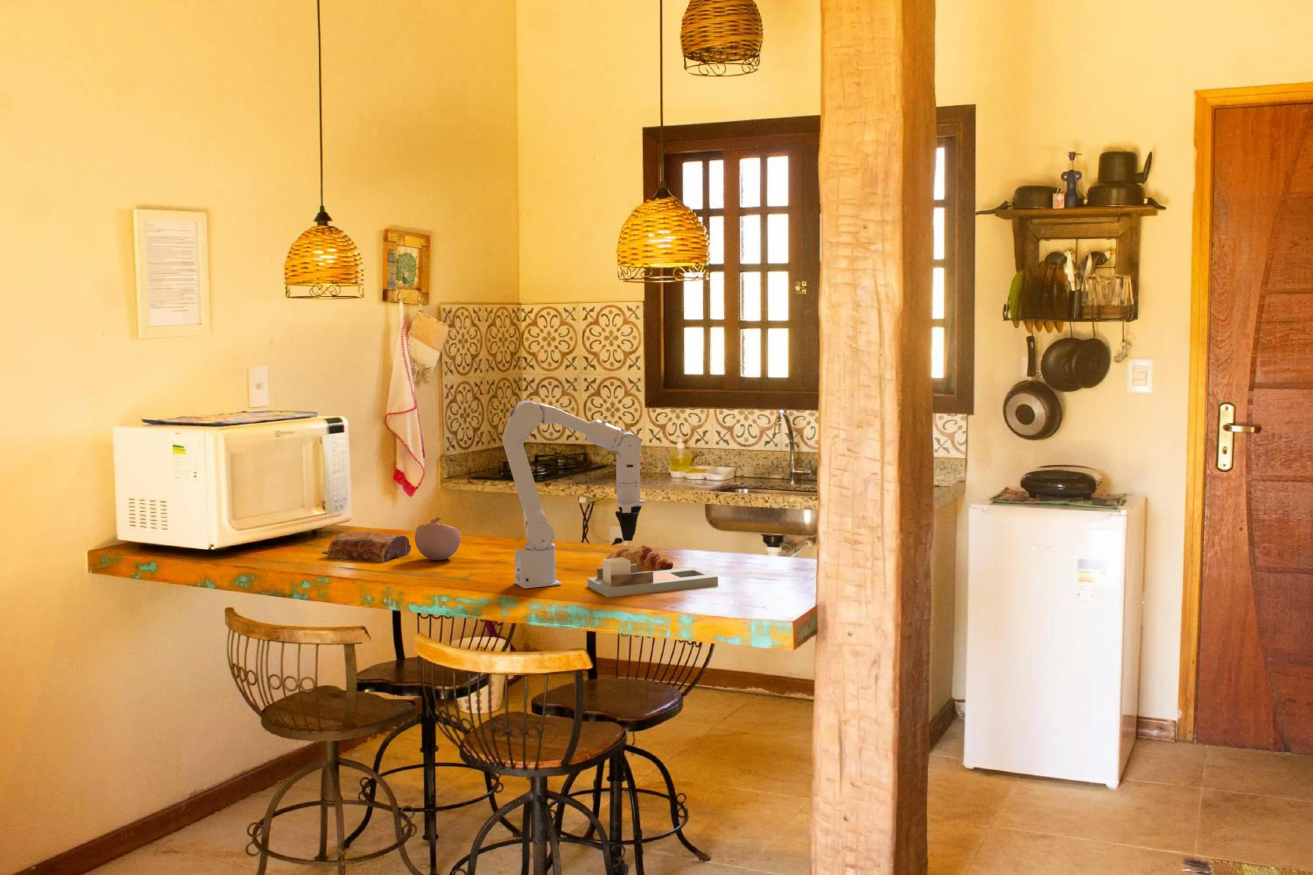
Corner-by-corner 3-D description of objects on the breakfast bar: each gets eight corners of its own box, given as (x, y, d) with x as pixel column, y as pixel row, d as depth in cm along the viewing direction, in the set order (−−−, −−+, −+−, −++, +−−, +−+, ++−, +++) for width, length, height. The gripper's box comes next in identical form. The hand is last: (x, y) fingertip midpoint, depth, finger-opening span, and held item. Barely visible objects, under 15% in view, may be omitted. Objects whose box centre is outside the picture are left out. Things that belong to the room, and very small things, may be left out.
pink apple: (466, 555, 345) (464, 513, 343) (455, 564, 333) (453, 520, 332) (422, 555, 346) (421, 513, 345) (410, 564, 334) (408, 521, 333)
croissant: (599, 581, 325) (588, 556, 321) (619, 557, 331) (609, 532, 328) (667, 589, 312) (657, 563, 309) (687, 563, 319) (677, 538, 315)
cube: (610, 584, 295) (610, 562, 295) (603, 580, 300) (602, 559, 299) (630, 582, 297) (630, 560, 296) (623, 578, 302) (622, 557, 301)
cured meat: (343, 547, 362) (342, 523, 362) (419, 551, 353) (418, 527, 353) (304, 560, 346) (302, 535, 345) (383, 565, 337) (382, 540, 336)
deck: (606, 597, 291) (606, 588, 290) (587, 586, 303) (587, 578, 302) (718, 584, 301) (717, 576, 301) (695, 574, 313) (695, 566, 313)
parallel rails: (613, 586, 292) (612, 575, 292) (597, 578, 302) (596, 567, 302) (653, 582, 296) (653, 571, 296) (636, 574, 306) (636, 563, 306)
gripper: (643, 486, 301) (643, 543, 302) (646, 478, 315) (647, 532, 316) (613, 486, 301) (614, 543, 302) (618, 478, 315) (618, 532, 317)
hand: (629, 537), depth 309 cm, fingers open, 7 cm apart
